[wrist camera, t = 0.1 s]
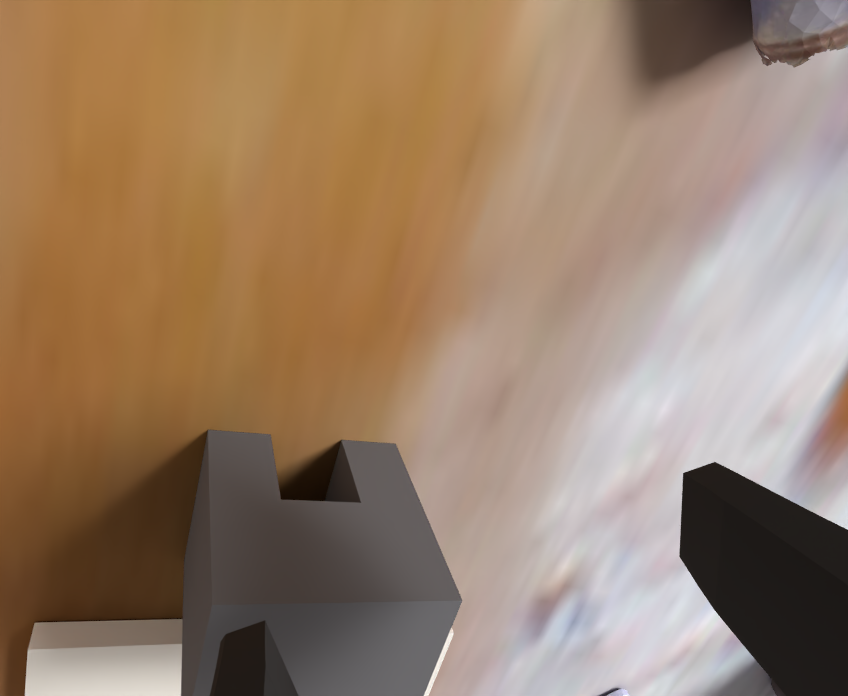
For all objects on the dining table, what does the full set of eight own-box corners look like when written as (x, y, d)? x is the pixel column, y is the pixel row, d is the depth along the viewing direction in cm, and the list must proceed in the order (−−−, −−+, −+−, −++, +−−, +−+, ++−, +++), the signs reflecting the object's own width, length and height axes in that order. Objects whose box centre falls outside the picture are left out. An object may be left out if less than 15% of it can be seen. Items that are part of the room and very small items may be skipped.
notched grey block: (395, 443, 22) (462, 600, 16) (358, 561, 24) (406, 737, 18) (208, 430, 20) (212, 605, 14) (183, 560, 22) (179, 759, 16)
